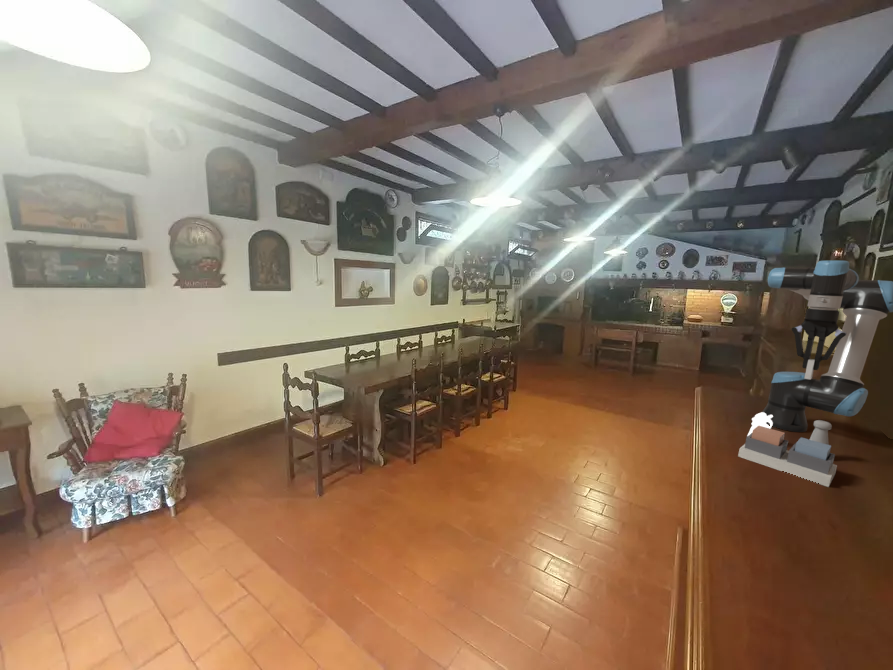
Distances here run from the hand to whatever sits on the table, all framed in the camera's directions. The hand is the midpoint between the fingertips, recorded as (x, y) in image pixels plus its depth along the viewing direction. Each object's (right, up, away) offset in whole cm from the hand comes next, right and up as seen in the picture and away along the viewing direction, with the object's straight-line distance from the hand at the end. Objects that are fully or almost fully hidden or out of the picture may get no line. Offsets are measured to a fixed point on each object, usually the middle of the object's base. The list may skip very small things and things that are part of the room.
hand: (808, 378), depth 122 cm
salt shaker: (+8, -28, +6) cm, 30 cm away
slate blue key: (-5, -25, -6) cm, 26 cm away
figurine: (-4, -26, +15) cm, 31 cm away
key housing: (-9, -29, -1) cm, 30 cm away
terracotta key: (-12, -23, +2) cm, 26 cm away
